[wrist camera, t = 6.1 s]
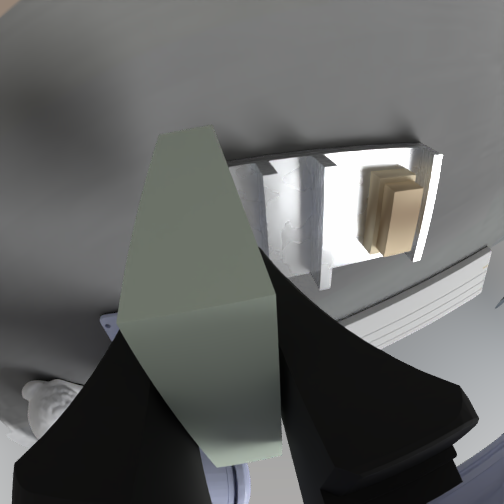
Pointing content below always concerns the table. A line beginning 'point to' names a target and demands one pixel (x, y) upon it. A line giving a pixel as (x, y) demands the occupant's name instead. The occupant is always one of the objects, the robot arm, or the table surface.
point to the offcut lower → (380, 202)
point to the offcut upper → (398, 217)
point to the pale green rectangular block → (203, 302)
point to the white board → (421, 303)
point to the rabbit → (47, 402)
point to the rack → (326, 203)
